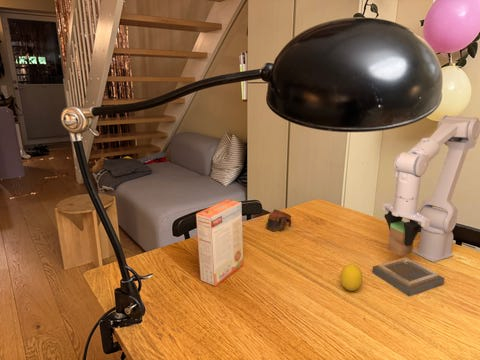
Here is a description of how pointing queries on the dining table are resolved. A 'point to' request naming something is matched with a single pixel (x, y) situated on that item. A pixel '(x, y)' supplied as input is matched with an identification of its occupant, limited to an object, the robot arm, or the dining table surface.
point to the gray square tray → (408, 276)
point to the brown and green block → (398, 239)
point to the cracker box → (220, 241)
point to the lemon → (351, 277)
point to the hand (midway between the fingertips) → (401, 241)
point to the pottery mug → (280, 224)
